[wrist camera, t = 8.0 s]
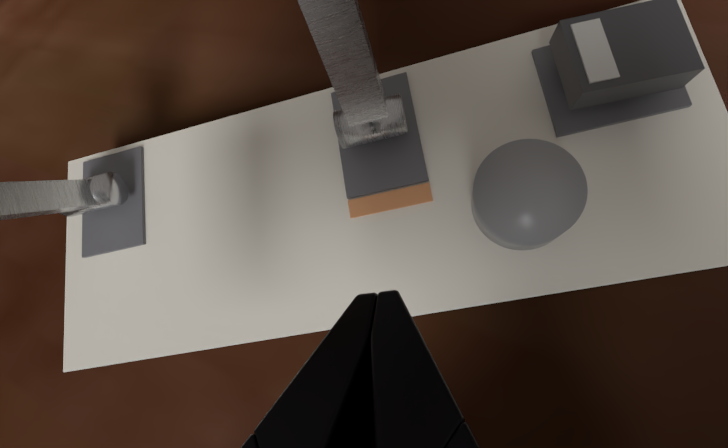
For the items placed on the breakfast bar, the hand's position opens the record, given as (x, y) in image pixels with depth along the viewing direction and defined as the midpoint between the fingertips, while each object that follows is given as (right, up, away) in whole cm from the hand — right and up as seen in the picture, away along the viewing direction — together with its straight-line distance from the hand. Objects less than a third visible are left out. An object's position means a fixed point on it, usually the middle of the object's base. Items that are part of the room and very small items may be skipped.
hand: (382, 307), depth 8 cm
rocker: (+9, +8, +6) cm, 14 cm away
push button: (+6, +2, +7) cm, 9 cm away
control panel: (-1, +2, +12) cm, 13 cm away
